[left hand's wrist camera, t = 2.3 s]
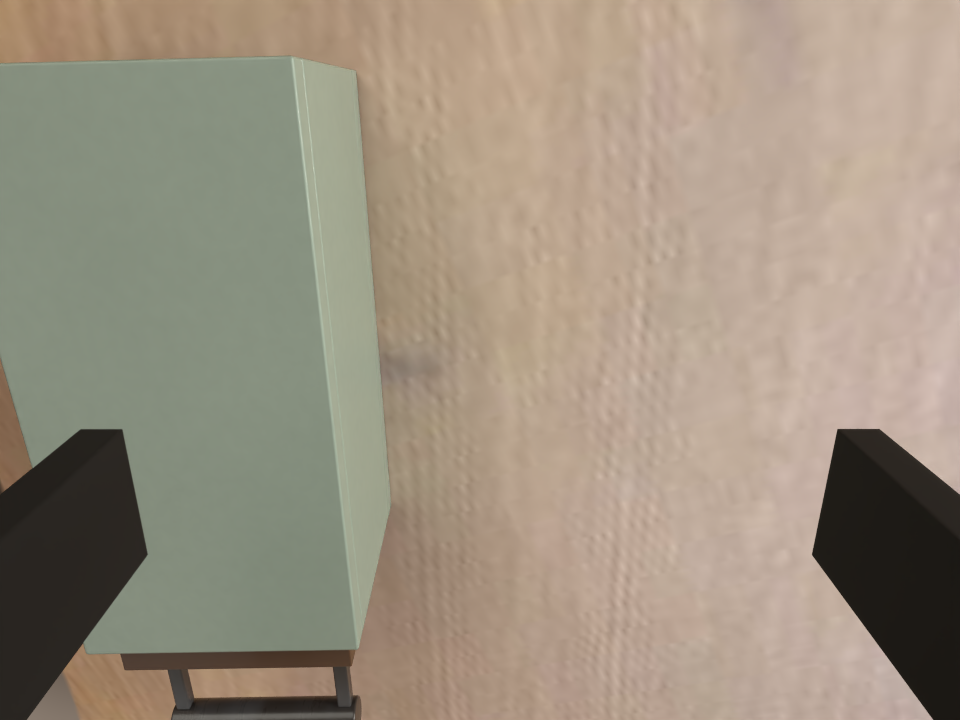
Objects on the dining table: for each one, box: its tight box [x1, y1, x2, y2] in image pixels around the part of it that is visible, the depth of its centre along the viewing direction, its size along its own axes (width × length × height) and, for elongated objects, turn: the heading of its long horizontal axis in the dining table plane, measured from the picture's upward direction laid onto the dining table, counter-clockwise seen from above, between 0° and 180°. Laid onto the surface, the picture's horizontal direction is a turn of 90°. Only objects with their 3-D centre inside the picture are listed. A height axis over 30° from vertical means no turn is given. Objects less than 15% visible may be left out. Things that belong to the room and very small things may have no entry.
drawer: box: [121, 650, 361, 720], centre depth 29 cm, size 25×9×8 cm, turn 1°
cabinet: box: [0, 56, 391, 654], centre depth 27 cm, size 21×10×10 cm, turn 1°
